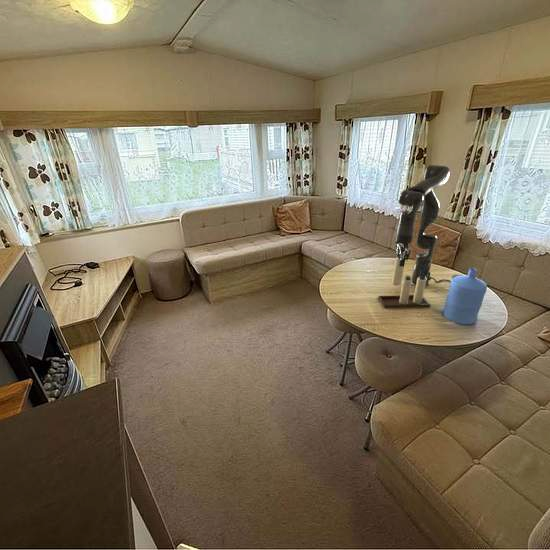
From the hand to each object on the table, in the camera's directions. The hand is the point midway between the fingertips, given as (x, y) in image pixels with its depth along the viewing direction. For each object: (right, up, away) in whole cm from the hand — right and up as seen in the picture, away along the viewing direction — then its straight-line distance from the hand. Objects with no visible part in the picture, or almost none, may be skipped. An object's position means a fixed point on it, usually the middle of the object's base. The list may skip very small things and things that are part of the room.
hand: (399, 263), depth 154 cm
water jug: (+34, -28, +5) cm, 45 cm away
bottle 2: (+18, -21, +19) cm, 34 cm away
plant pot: (+46, -18, +25) cm, 55 cm away
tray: (+10, -22, +19) cm, 31 cm away
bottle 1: (+10, -22, +19) cm, 30 cm away
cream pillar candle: (0, -11, +5) cm, 12 cm away
